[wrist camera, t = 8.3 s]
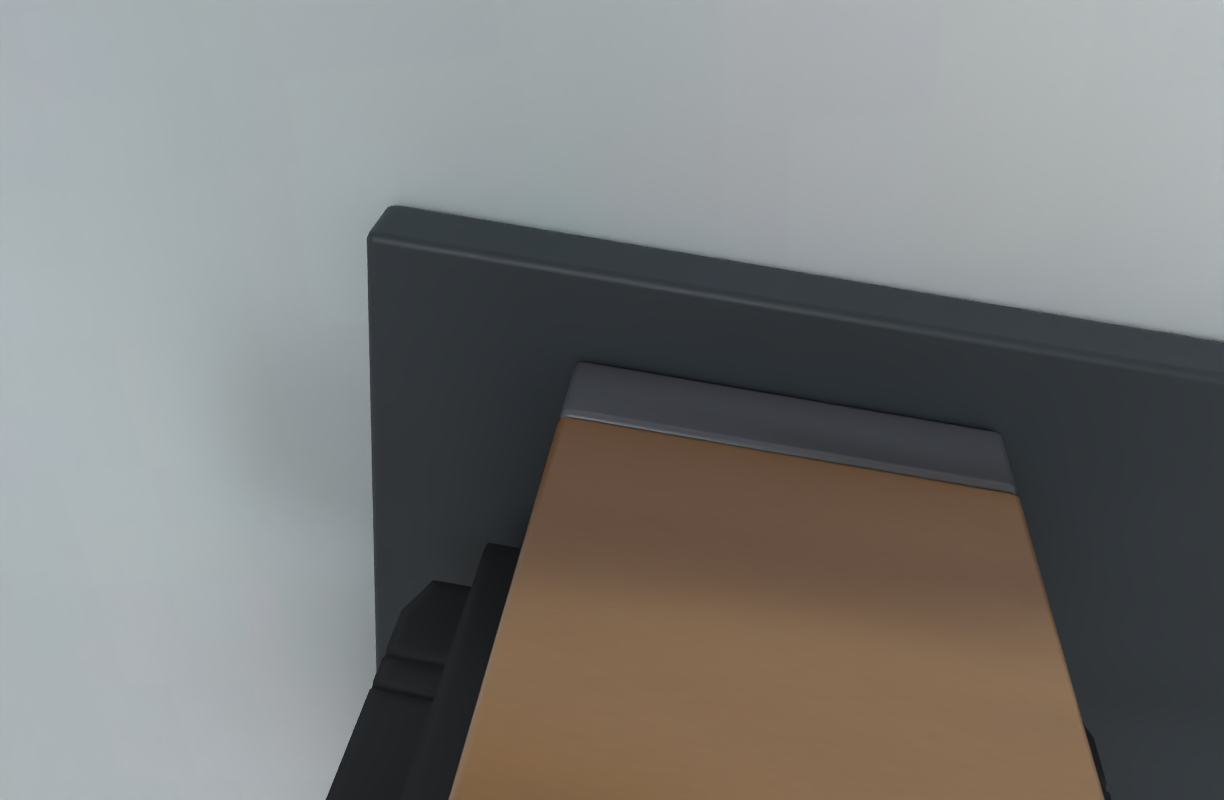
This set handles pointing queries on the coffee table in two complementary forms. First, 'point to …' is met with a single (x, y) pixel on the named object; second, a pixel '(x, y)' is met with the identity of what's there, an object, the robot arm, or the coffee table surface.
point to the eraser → (772, 611)
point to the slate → (837, 374)
